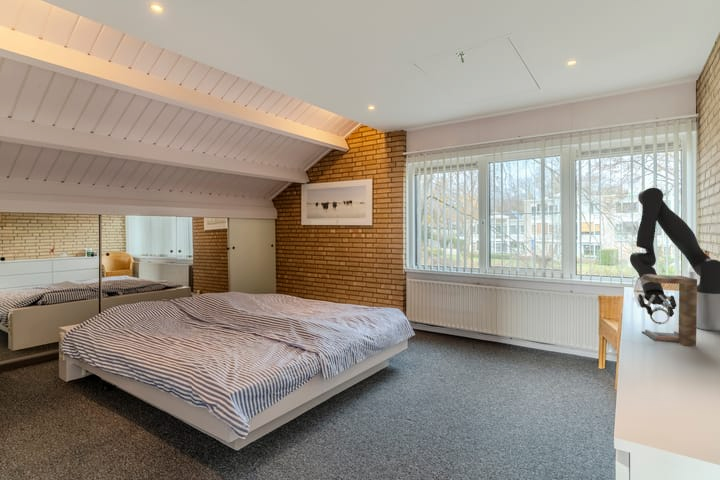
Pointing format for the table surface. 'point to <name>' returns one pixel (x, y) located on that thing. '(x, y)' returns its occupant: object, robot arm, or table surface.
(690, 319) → the shelf
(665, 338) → the seat
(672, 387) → the table surface
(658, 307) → the ring
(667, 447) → the table surface
